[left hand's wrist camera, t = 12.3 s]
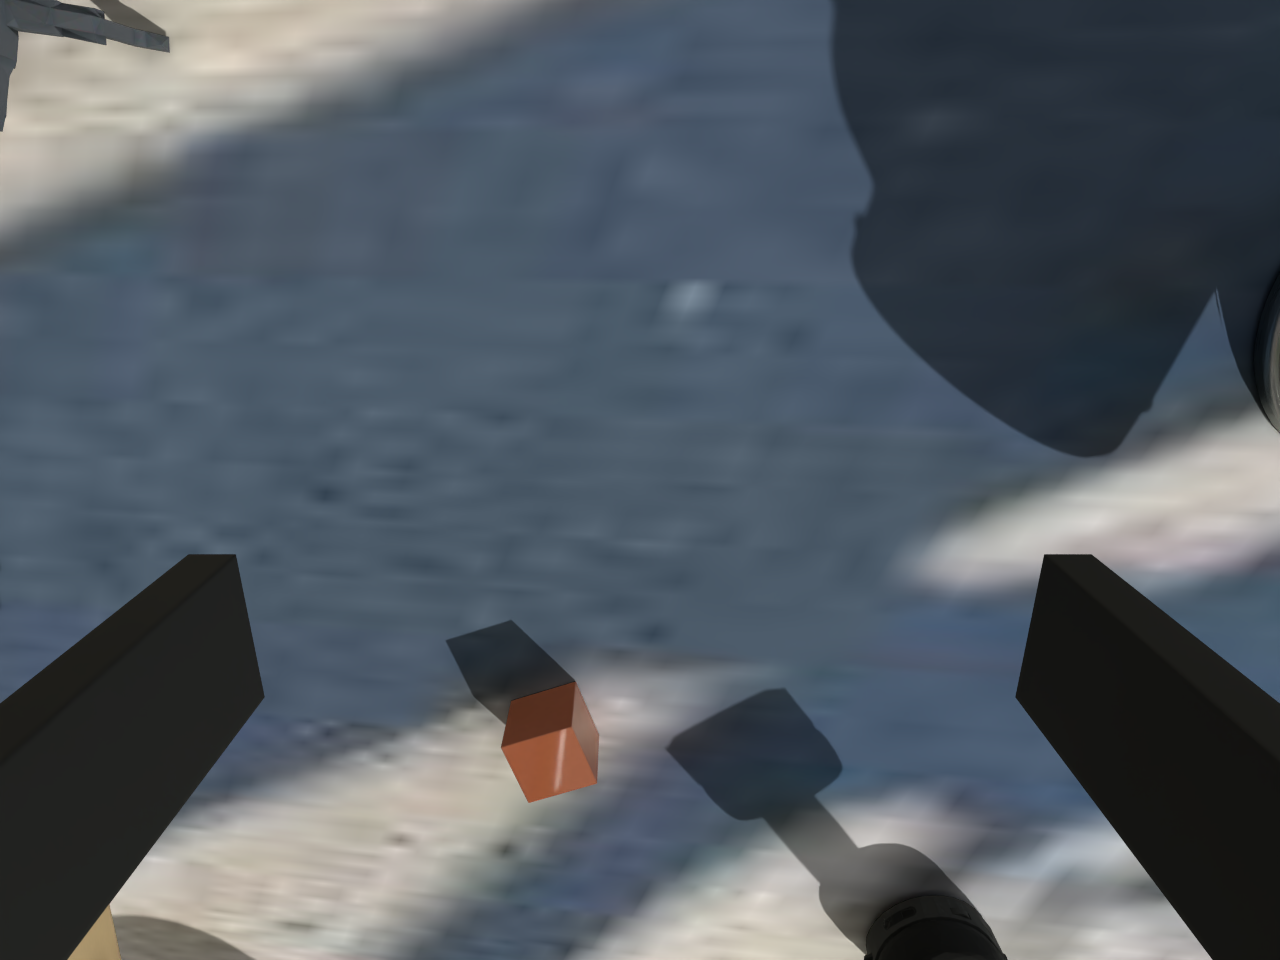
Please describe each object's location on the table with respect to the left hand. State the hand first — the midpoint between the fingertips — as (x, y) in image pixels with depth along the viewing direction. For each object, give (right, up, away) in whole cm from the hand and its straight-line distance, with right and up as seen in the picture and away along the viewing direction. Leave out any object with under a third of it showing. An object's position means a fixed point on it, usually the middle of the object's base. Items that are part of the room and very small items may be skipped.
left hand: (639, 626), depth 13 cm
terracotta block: (-5, -11, +32) cm, 34 cm away
